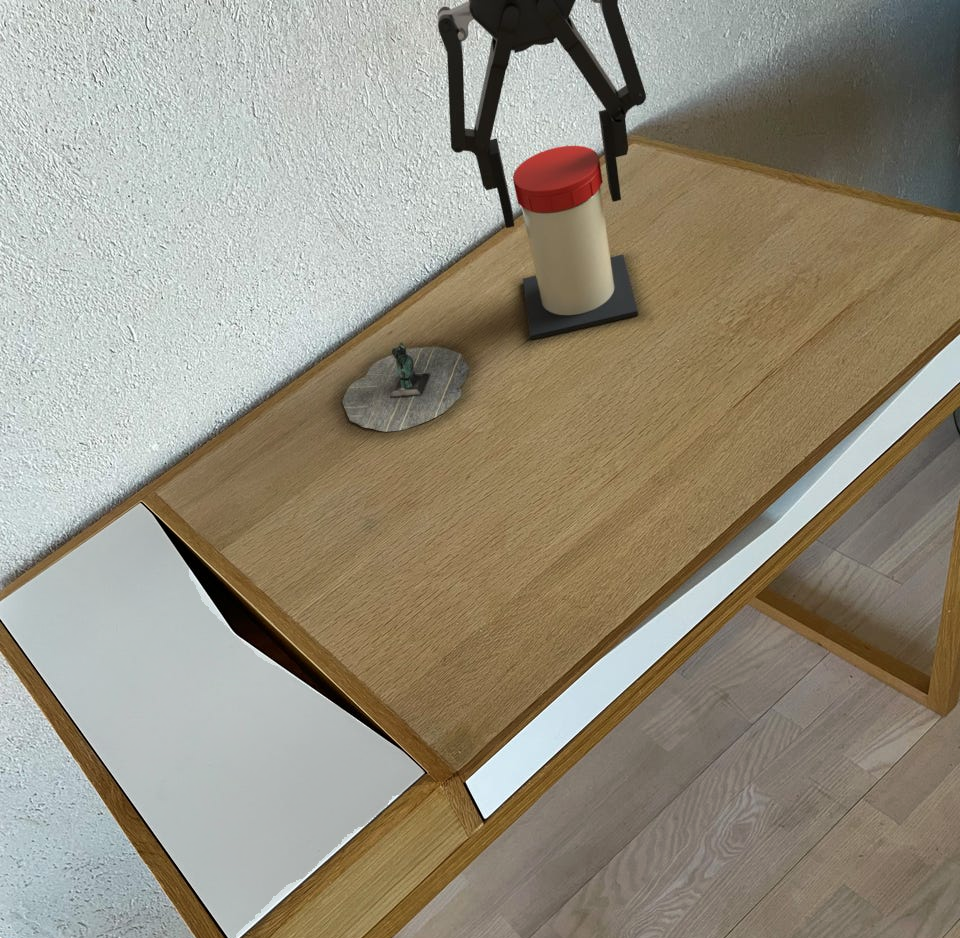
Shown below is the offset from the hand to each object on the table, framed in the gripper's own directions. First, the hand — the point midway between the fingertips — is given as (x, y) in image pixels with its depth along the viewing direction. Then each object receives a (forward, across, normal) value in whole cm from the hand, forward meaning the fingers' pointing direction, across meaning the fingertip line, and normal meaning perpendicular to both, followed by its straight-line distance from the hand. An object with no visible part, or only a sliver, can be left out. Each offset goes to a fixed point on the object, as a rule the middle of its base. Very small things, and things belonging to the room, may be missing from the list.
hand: (561, 206), depth 84 cm
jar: (+9, 0, 0) cm, 9 cm away
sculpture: (+9, +17, +8) cm, 21 cm away
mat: (+9, 0, 0) cm, 9 cm away
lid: (-3, 0, 0) cm, 3 cm away
